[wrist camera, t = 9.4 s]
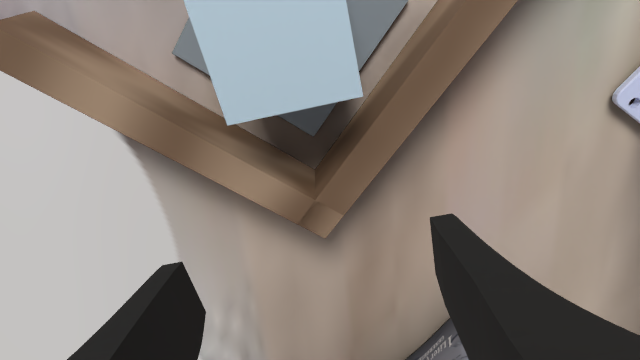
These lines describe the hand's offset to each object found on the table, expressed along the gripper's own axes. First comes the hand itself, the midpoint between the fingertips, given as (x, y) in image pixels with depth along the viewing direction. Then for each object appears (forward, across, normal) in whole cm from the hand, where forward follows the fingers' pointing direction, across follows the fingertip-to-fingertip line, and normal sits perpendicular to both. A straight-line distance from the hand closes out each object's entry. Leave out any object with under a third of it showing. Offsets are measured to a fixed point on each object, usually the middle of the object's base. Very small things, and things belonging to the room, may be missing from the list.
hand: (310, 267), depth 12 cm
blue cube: (+10, 0, -5) cm, 11 cm away
